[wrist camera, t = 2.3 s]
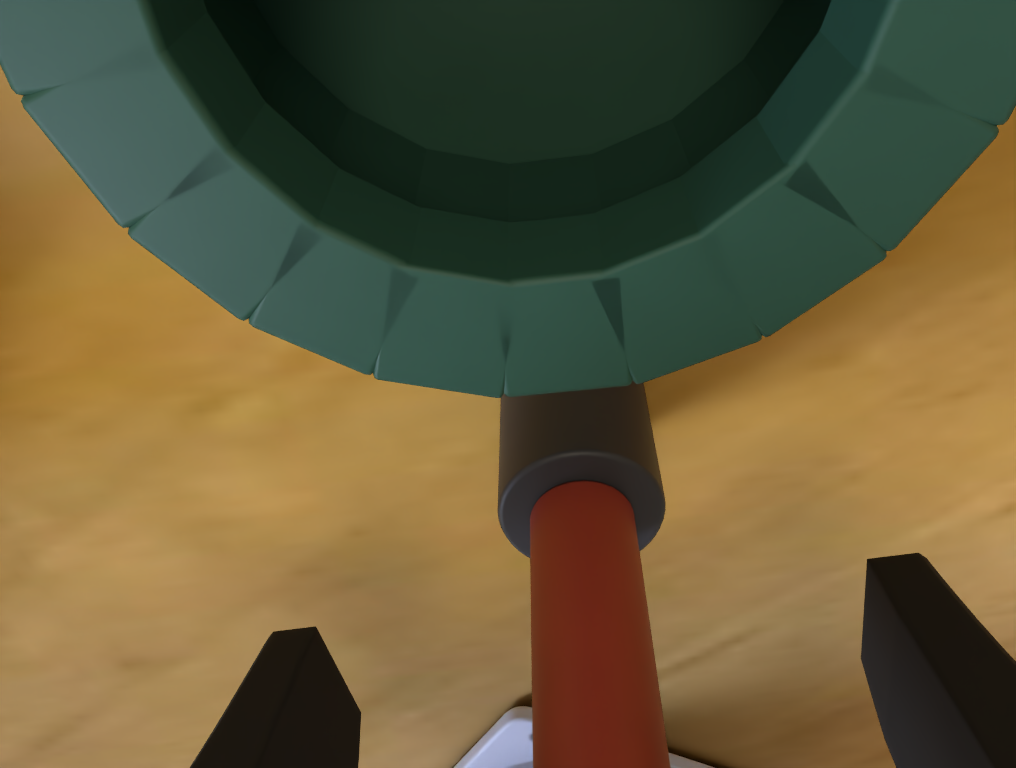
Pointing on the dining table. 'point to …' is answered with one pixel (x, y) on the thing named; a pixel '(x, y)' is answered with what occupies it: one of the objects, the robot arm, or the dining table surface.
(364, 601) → the dining table surface
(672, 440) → the dining table surface
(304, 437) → the dining table surface
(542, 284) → the teal tube ring
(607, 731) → the red grey stepped cylinder
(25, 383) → the dining table surface
